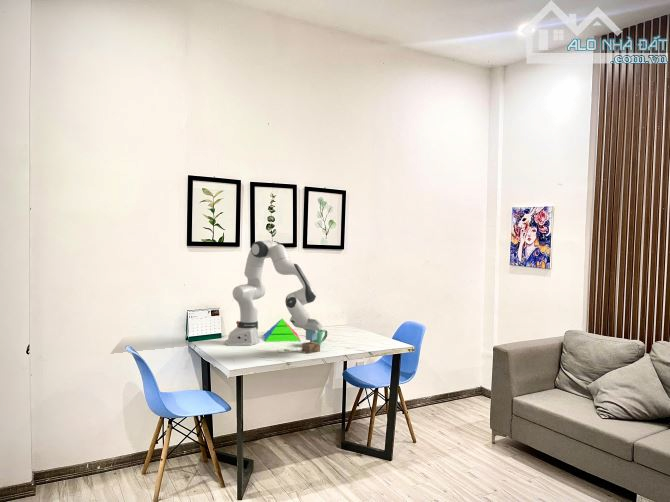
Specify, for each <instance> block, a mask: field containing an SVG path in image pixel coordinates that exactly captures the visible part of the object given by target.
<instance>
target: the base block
mask: <svg viewBox="0 0 670 502" xmlns="http://www.w3.org/2000/svg"><path fill="white" fill-rule="evenodd" d="M301 345H302V346H301V351H302V352H305V353H307V354H314V353H315V354H316V353H319V352H321V343H320V344H319V343H316V342H310V341H308V342H307V341H306V342H302V343H301Z"/></svg>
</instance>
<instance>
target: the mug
mask: <svg viewBox="0 0 670 502" xmlns="http://www.w3.org/2000/svg"><path fill="white" fill-rule="evenodd" d="M323 333H324V335H323ZM327 337H328V330H327V329H321V330H320V331H318V332H317V340H313V341H311V340H309V342H316V343H319V344H320V345H321V344H322V343H323V342H324V341H325V340H326V338H327Z"/></svg>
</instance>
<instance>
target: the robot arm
mask: <svg viewBox="0 0 670 502" xmlns="http://www.w3.org/2000/svg"><path fill="white" fill-rule="evenodd" d="M269 258H270V259H271V262H272V265H273V268H274V269H275V272H276V273H278V274H279V275H282V276H292V275H293V276H296V277H297V279H298V280H299V282H300V283H301V285H302V288H299V289H297V290H296V291H293V292H290V293H288V294H287V295H286V297H285V301H284V302H285V306H286V308H287V311H288V312H289V314H290V315H291V317H290V318H289V322H291V324H292V326H293V327H295V328H298V329H303V330H305V331H306V329H310V330H314V333H317V332H318V331H320V330H323V325H322V324H321V322H320V321H319V320H317V319H316V318H311V315H310V314H309V312H308V311H307V310H306V308H305V305H307V304H310V303H313V302H315V300H316V298H317V293H316V291H315V290H314V288H313V286H312V285H311V283H310V282H309V280H308V279H307V277H306V275H305V274H304V272H303V270H302V268H301V267H300V266H299V264H297V263H294V262H293V261H292V260H291V258H290V255H289V253H288V251H287V249H286V247H285V246H284V245H283V244H281V243H280V242H279V241H276V240H274V241H273V240H257V241H254V242H253V243H252V244H251V247H250V250H249V252H248V255H247V258H246V263H245V266H244V267H245V268H244V272H243V273H244V276H245V277H246V279H247V283H246V284H239V285H238V286H235V287H234V288H233V290H232V297H233V299H234V301H236V302H237V304H238V307H239V311H240V312H239V313H240V315H239V317H240V318H239V319H240V320H237V321H236V322H235V323H236V327H235V328H234V329H233V330H231V331H230V332H229V334H228V337H227V339H225V340H224V344H225V345H226V346H253V345H256V344H259V343H260V339H259V333H258V331H259V330H258V329H259V321H258V309H257V307H256V306H254V303H253V301H254V300H259V299H261V298H263V297H264V296H265V294H266V289H265V286H264V284H263V283H262V274H263V268H264V262H265V259H269Z"/></svg>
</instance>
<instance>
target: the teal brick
mask: <svg viewBox="0 0 670 502" xmlns="http://www.w3.org/2000/svg"><path fill="white" fill-rule="evenodd" d="M305 340H307V341H310V340H311V341H313V340H317V333H314V330H310V329H306V330H305Z"/></svg>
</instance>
